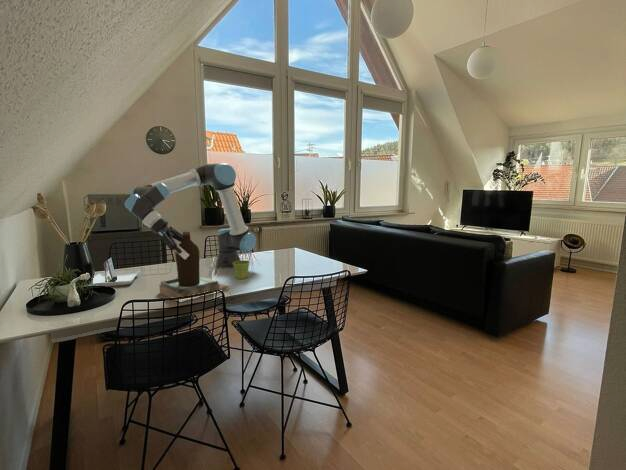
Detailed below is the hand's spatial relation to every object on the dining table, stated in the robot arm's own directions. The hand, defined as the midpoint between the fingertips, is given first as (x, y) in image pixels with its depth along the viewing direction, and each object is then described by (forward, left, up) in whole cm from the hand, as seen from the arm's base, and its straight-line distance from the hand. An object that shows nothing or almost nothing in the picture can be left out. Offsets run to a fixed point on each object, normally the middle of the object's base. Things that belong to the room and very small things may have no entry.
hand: (191, 254), depth 161 cm
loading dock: (-1, -1, -19) cm, 19 cm away
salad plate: (+19, -47, -19) cm, 54 cm away
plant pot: (-31, -4, -19) cm, 36 cm away
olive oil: (+1, -1, -15) cm, 15 cm away
